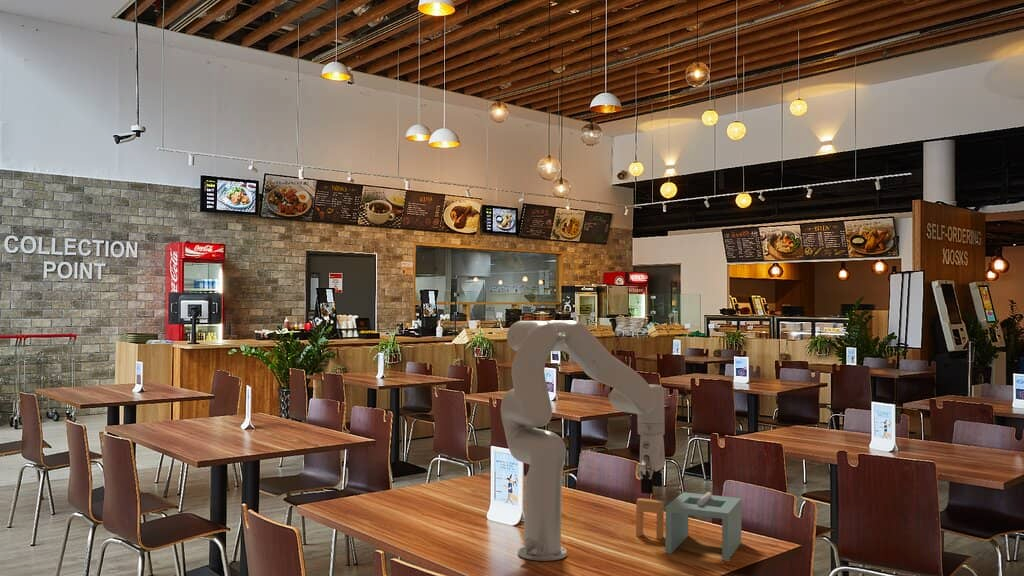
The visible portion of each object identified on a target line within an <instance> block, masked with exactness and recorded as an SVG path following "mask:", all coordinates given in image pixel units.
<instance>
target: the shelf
mask: <svg viewBox="0 0 1024 576" xmlns="http://www.w3.org/2000/svg"><path fill="white" fill-rule="evenodd" d="M690 516H697V517H705V518H714V519H722V520H721V552H722V553H721V560H724V561H723V562H729V561H730V560H729V559H731V558H732V557H733V555H734V554H735V552H736V551H737V550H738V548H739V547H740V545H741V544H742V498H741V497H734V496H733V497H732V496H723V495H714V494H713V493H712V492H711V491H707V492H706V493H705V494H704V493H695V492H684V491H683V492H682V493H681V494H680V495H678V496H677V497H676V498H674V499H673V500H672V501H670V502H669V503H668V504H666V506H665V550H664V551H665V554H670V555H671V554H673V552H674V551H675V550H676V549H677V548H679V546H680V545H681V544H683V542H684V541H685V540H686V539H687V538H688V537H689V528H690V527H689V526H690V525H689V521H690V520H689V517H690ZM733 553H734V554H733ZM731 556H732V557H731ZM730 557H731V558H730ZM728 560H729V561H728Z"/></svg>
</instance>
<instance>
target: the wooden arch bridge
mask: <svg viewBox="0 0 1024 576" xmlns="http://www.w3.org/2000/svg"><path fill="white" fill-rule="evenodd" d="M664 501H665V500H660V499H653V498H652V499H651V498H643V497H642V498H641V497H638V498H637V499H636V504H635V505H636V506H635V507H636V511H635V512H636V514H635V515H636V516H635V519H636V520H635V521H636V523H635V530H636V531H635V537H642V536H643V535H644V513H652V514H656V534H655V535H656V536H655V537H656V539H657V540H662V539H663V538H664V526H665V525H664V524H665V523H664V516H665V515H664V514H665V513H664V511H665V509H664V508H665V506H664Z"/></svg>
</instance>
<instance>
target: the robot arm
mask: <svg viewBox="0 0 1024 576" xmlns="http://www.w3.org/2000/svg"><path fill="white" fill-rule="evenodd" d="M506 341H507V343H508V346H509V347H510V349H512V350H514V351H516V353H515V356H514V358H513V360H512V364H511V380H512V385H513V386H512V387H513V388H511V389H509V390H508V391H506V393H505V394H504V395H503V397H502V399H501V403H500V415H501V417H500V418H501V422H502V426H503V429H504V434H505V435H504V436H505V439H506V443H507V447H508V450H509V452H510V454H511V455H512V457H513V458H514V459H515V460H517V461H518V462H521V463H524V464H527V465H529V467H528V471H527V473H526V477H525V481H524V515H523V516H524V519H523V520H524V524H523V527H524V529H523V531H524V532H523V545H520V546H519V547H518V548H517V555H519V556H520V557H521V558H522V559H526V560H530V561H537V562H549V561H550V562H551V561H552V562H553V561H558V560H561V559H564V558H566V557H567V555H568V550H567V549H566V547H564V546H562V492H563V491H562V484H563V483H562V482H563V471H564V467H565V466H564V465H565V460H566V455H567V453H566V451H567V448H566V444H565V441H564V440H563V439H562V437H561V436H560V435H558V434H557V433H555V432H553V431H550V430H547V429H546V430H545V429H542V428H541V427H544V426H546V425H548V424H549V423H550V421H551V419H552V416H553V408H552V402H551V398H550V394H549V389H548V384H547V381H546V373H545V372H546V371H545V367H546V363H547V361H548V358H549V356H550V354H551V353H552V352H565V353H566V354H567V355H568V356H569V357H570V358H571V359H572V360H573V361H574V363H576V364H577V365H578V367H579V368H581V370H582V371H583V372H584V374H586V375H587V376H588V378H590V379H593V380H594V381H596V382H599V383H601V384H603V385H606V386H608V387H611V388H613V389H612V390H611V391H610V393H609V399H608V400H609V402H610V405H611V407H613V408H614V410H617V411H618V412H619V411H620V412H623V413H630V414H635V415H637V434H638V435H640V438H639V439H640V440H639V467H640V470H641V471H640V492H641V494H648V495H653V493H654V487H658V488H661V487H662V486H663V473H662V472H663V468H664V467H665V465H666V458H665V457H666V456H665V443H664V435H665V431H666V430H665V424H666V423H665V389H664V387H663V386H662V385H661V384H653V383H652V384H651V383H650V384H649V383H648V382H647V381H646V379H645V378H644V377H642V375H641V374H639V373H638V372H637V371H636V370H634V369H633V368H632V367H630V366H628V365H627V364H626V363H624V362H622V361H621V360H620V359H618V358H617V357H615V356H614V355H612V354H611V353H610V352H609V351H608V349H606V347H605V346H604V345H603V344H602V343H601V342H600V341H599V340H598V339H597V337H596V336H595V335H594V334H593V332H592V331H591V330H590V329H589V328H588V327H587V326H586V325H585V324H584V323H582V322H581V321H577V320H570V319H569V320H566V319H565V320H560V319H559V320H517V321H516V322H514V323H512V324H511V326H510V327H509V328H508V329H507V333H506Z"/></svg>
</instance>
